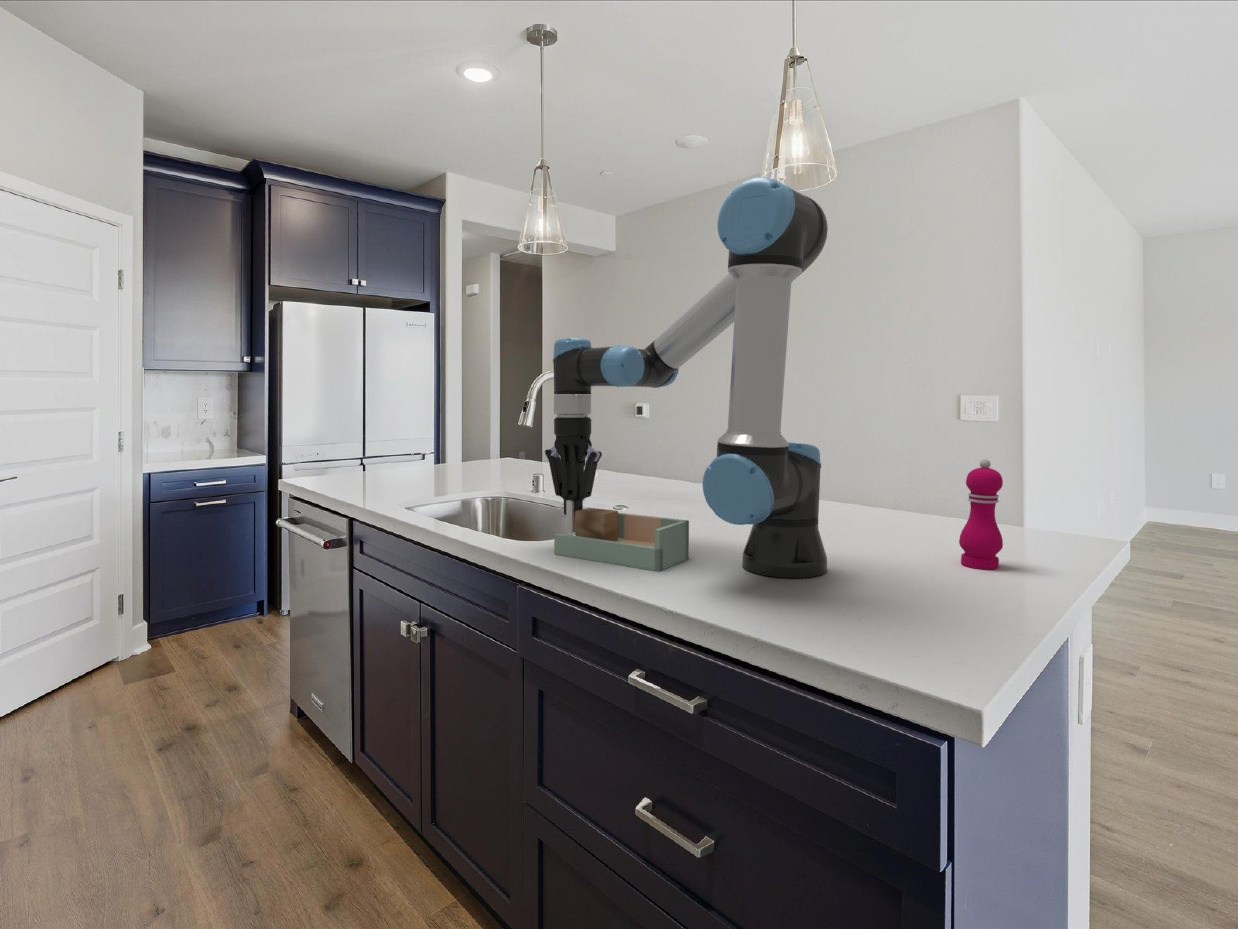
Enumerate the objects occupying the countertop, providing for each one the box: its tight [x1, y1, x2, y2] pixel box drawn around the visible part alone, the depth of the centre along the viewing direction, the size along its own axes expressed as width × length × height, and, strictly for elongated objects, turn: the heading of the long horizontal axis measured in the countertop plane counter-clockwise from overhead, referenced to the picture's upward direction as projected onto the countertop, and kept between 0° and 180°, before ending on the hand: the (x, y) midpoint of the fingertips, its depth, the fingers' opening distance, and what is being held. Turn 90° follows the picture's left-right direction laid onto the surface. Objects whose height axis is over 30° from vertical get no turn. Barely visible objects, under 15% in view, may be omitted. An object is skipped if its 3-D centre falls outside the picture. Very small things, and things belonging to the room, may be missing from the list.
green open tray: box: [553, 512, 690, 572], centre depth 134 cm, size 24×12×8 cm, turn 57°
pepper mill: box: [958, 458, 1004, 571], centre depth 127 cm, size 7×7×20 cm
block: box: [574, 507, 619, 541], centre depth 137 cm, size 7×5×6 cm
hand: (573, 531), depth 140 cm, fingers closed
